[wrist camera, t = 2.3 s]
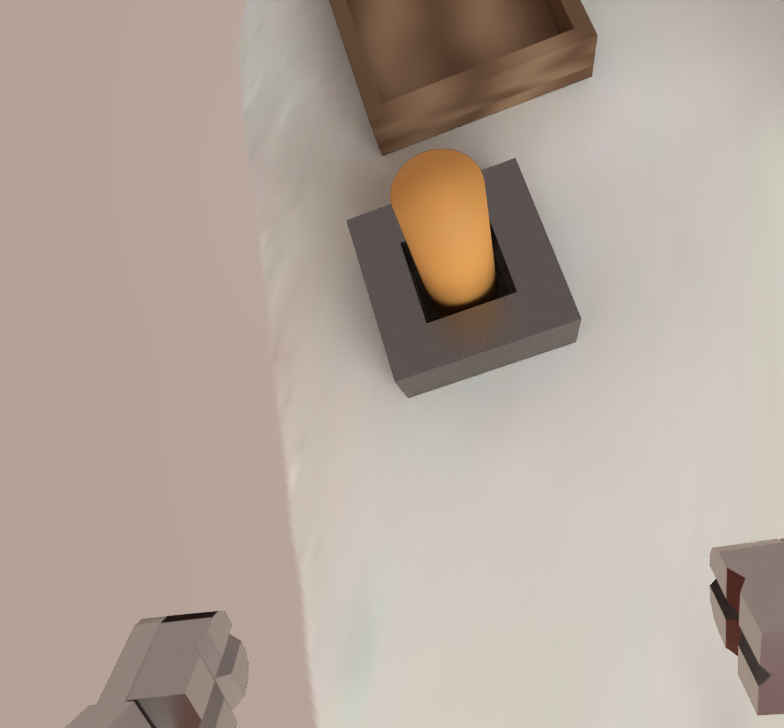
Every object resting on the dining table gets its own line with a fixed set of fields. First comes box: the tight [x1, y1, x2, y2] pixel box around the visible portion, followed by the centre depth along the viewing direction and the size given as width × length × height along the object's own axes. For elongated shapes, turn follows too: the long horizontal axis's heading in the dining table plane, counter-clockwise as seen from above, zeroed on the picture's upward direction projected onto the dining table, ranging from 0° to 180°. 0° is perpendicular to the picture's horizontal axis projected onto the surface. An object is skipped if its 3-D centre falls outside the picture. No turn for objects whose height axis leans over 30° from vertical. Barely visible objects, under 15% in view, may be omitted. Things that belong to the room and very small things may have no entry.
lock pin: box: [391, 149, 498, 318], centre depth 33 cm, size 4×4×12 cm
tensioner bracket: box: [347, 158, 581, 398], centre depth 37 cm, size 10×10×4 cm
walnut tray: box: [329, 0, 597, 156], centre depth 42 cm, size 14×16×4 cm
